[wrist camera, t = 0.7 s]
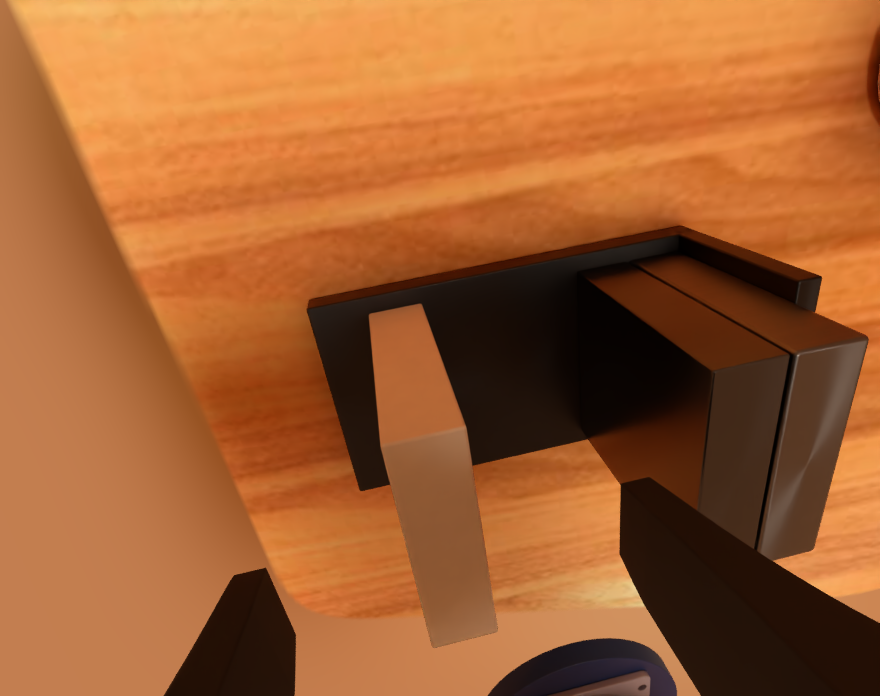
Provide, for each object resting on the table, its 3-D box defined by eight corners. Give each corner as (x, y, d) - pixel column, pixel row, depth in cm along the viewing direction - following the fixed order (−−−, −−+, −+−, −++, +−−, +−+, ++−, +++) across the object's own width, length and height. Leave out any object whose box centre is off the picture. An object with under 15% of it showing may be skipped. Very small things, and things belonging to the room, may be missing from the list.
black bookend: (682, 224, 16) (907, 305, 10) (670, 406, 19) (833, 559, 13) (308, 299, 15) (277, 444, 9) (359, 477, 18) (365, 681, 12)
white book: (421, 302, 15) (466, 426, 9) (449, 460, 18) (498, 633, 12) (368, 312, 15) (379, 446, 9) (405, 470, 18) (432, 650, 12)
